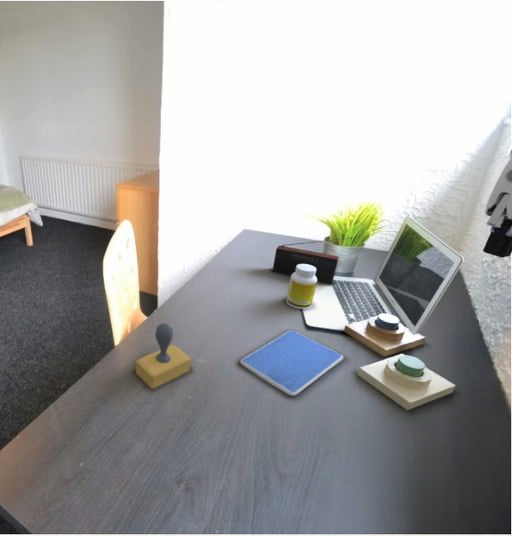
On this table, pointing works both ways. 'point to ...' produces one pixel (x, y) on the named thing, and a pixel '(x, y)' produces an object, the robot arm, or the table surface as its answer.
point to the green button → (410, 366)
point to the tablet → (291, 362)
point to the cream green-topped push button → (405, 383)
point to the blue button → (387, 322)
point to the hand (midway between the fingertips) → (495, 254)
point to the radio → (305, 262)
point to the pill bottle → (302, 287)
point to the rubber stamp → (163, 360)
